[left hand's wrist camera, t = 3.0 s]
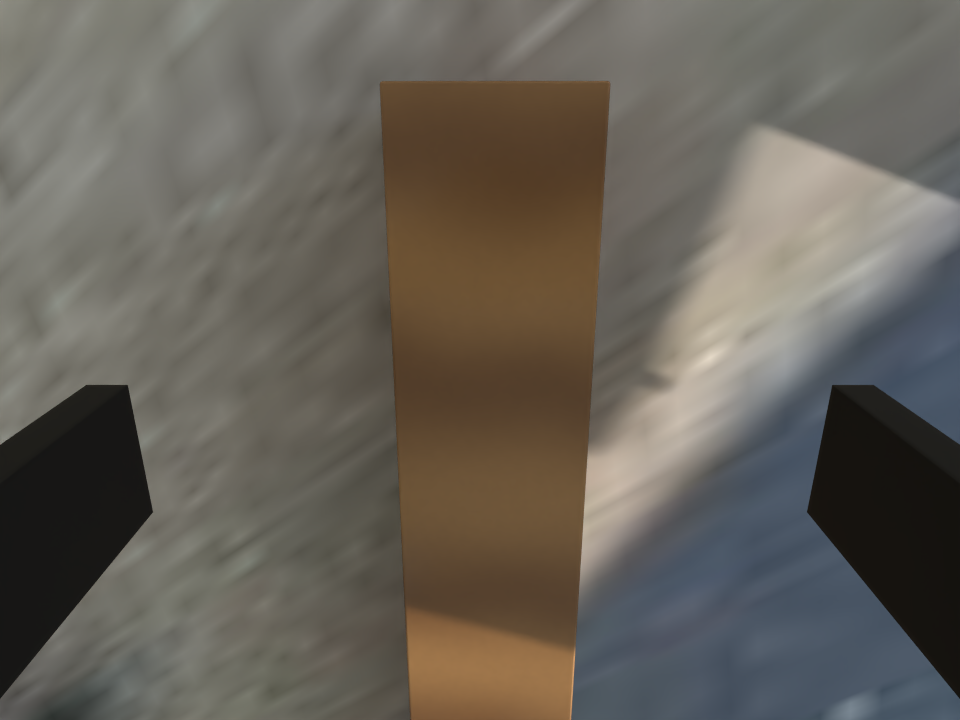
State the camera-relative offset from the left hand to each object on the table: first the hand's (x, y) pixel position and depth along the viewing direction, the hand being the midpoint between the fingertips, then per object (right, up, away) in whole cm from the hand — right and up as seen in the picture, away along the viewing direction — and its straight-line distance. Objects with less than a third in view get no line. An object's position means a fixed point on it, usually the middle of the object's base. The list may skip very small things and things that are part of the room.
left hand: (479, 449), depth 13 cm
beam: (0, -24, +21) cm, 31 cm away
